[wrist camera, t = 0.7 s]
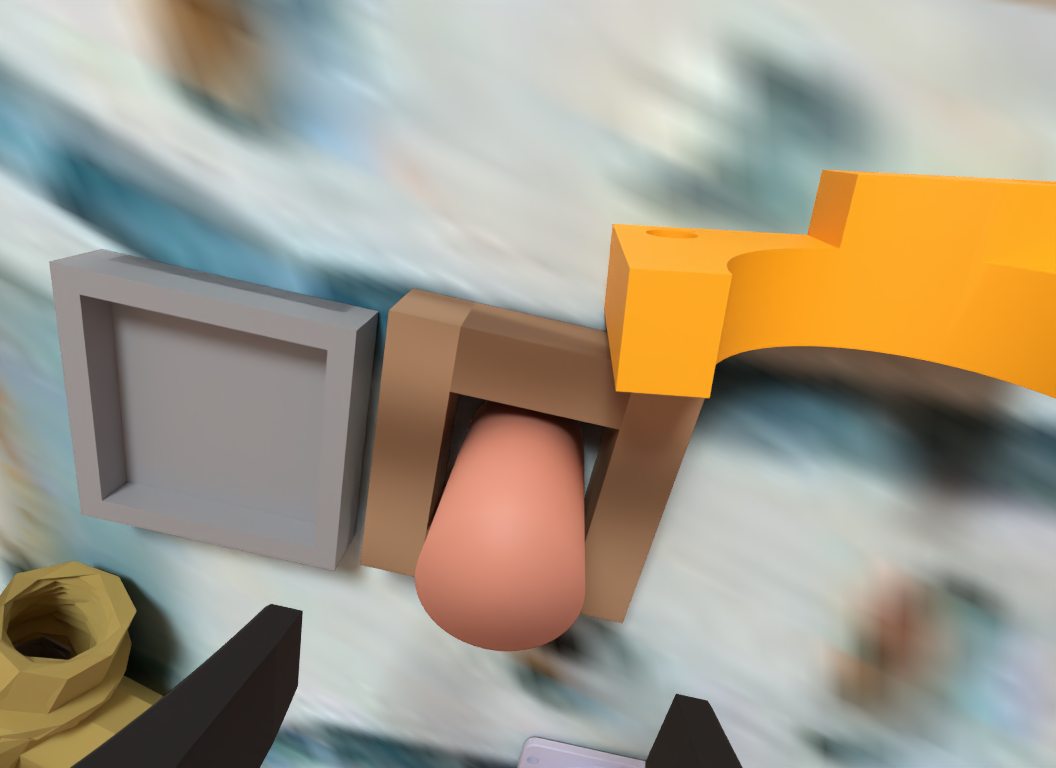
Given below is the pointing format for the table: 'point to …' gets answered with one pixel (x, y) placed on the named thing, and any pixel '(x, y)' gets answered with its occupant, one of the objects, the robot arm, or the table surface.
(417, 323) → the square frame
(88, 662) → the ball valve
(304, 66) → the table surface
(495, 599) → the plug
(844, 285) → the pipe clamp
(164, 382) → the tray
